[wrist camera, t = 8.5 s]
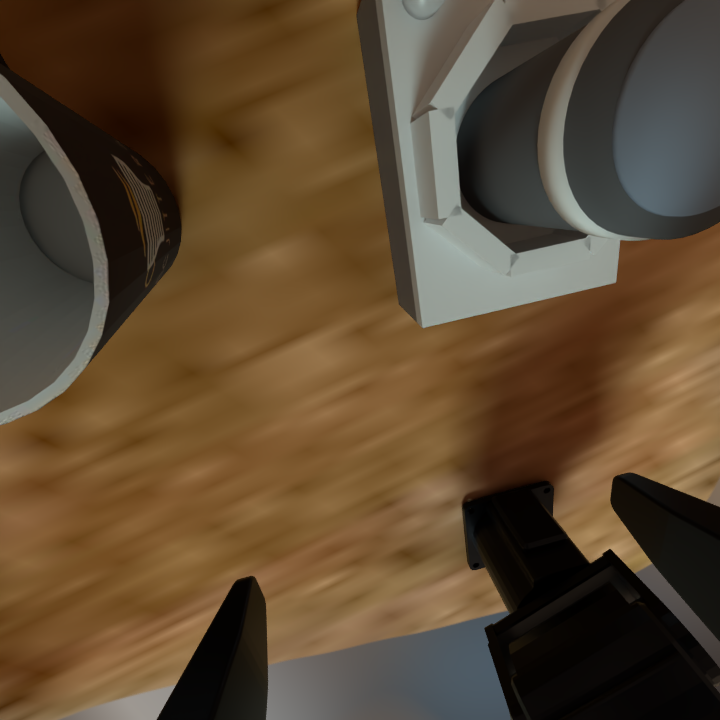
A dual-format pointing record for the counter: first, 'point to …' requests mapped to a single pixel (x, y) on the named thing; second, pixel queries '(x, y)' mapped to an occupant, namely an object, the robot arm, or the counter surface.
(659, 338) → the counter surface
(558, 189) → the lens
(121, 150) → the coffee mug
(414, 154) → the octagonal ring tray
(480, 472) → the counter surface
